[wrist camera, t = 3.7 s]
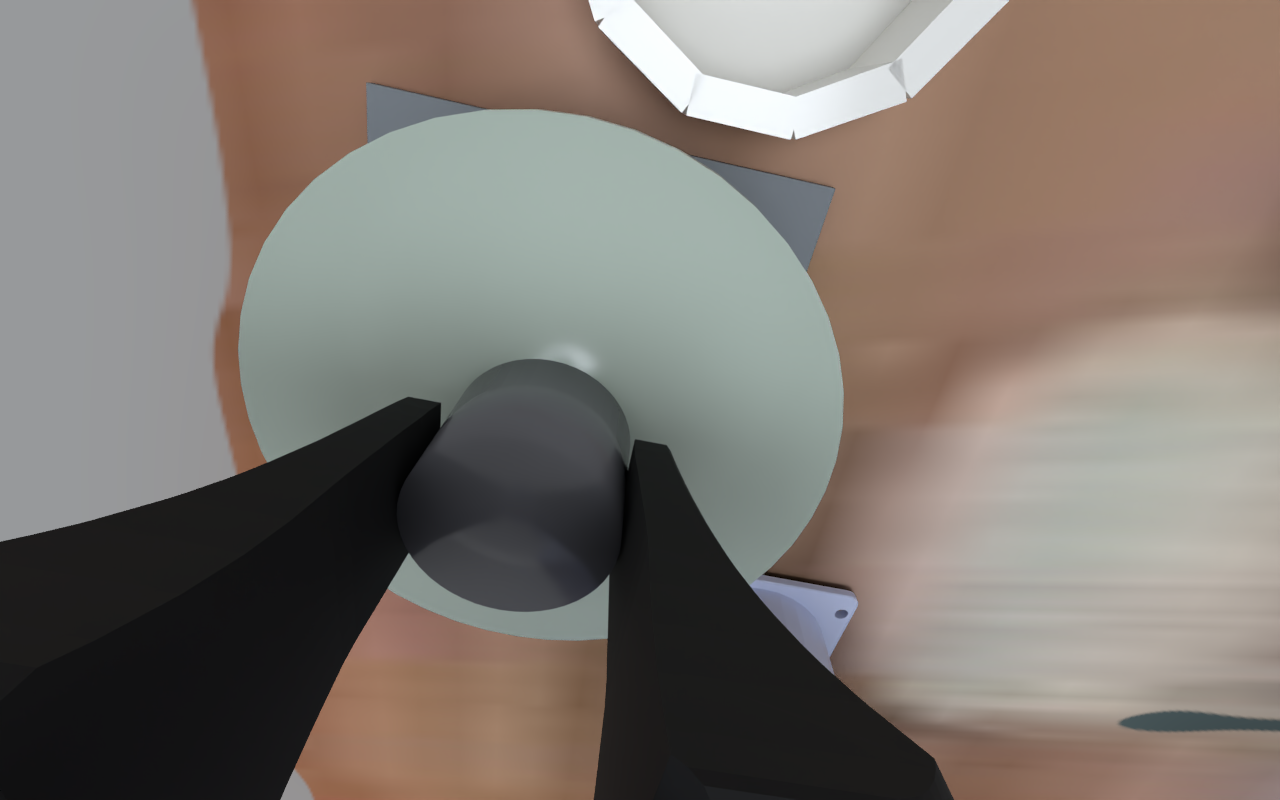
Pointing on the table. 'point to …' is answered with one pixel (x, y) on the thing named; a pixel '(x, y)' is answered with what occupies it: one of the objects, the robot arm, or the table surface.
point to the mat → (775, 196)
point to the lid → (546, 352)
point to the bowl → (789, 55)
